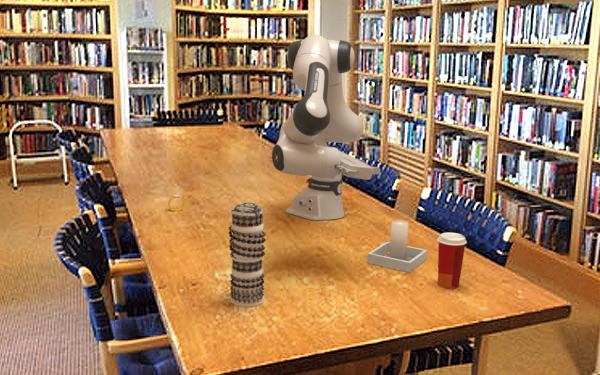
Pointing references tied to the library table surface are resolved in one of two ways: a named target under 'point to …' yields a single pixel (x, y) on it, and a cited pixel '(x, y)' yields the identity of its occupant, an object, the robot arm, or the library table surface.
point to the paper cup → (450, 259)
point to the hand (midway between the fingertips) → (370, 166)
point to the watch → (175, 197)
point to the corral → (386, 261)
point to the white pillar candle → (398, 239)
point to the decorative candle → (247, 255)
